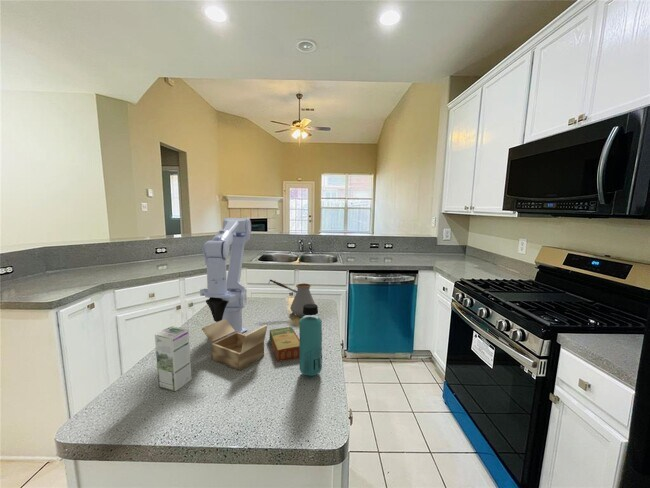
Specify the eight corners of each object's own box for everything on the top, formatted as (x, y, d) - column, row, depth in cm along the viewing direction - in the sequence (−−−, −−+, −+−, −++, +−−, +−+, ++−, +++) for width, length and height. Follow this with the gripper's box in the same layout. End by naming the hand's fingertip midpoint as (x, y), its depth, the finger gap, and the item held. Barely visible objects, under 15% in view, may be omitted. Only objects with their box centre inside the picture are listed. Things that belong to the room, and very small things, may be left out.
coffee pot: (317, 309, 131) (318, 277, 130) (314, 319, 120) (314, 284, 118) (272, 307, 133) (272, 276, 132) (265, 316, 122) (264, 282, 120)
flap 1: (212, 341, 87) (211, 342, 87) (235, 330, 95) (234, 331, 95) (202, 328, 89) (201, 329, 89) (225, 318, 97) (224, 319, 97)
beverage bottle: (313, 384, 75) (314, 311, 73) (293, 376, 79) (293, 306, 76) (326, 372, 81) (327, 304, 79) (307, 365, 84) (307, 299, 82)
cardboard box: (211, 359, 87) (211, 343, 87) (237, 346, 96) (236, 331, 95) (240, 370, 81) (239, 354, 81) (264, 355, 90) (263, 340, 89)
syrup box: (192, 379, 77) (189, 328, 75) (174, 392, 71) (171, 337, 70) (176, 375, 79) (173, 325, 77) (157, 388, 73) (153, 333, 71)
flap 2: (244, 335, 80) (245, 336, 79) (266, 324, 87) (267, 325, 87) (241, 352, 81) (242, 353, 81) (262, 340, 89) (264, 340, 88)
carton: (277, 363, 86) (277, 349, 86) (269, 340, 101) (268, 328, 101) (304, 358, 89) (303, 345, 89) (292, 336, 104) (291, 325, 104)
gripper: (190, 278, 90) (192, 320, 91) (222, 284, 83) (223, 329, 84) (209, 274, 96) (211, 313, 97) (240, 279, 89) (241, 321, 90)
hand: (218, 320), depth 91 cm, fingers closed
